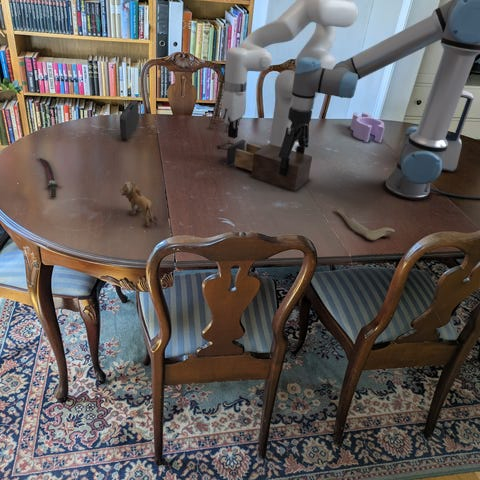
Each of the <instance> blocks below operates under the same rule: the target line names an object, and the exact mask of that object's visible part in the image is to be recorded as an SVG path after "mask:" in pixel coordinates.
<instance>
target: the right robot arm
mask: <svg viewBox="0 0 480 480" xmlns="http://www.w3.org/2000/svg"><path fill="white" fill-rule="evenodd" d="M439 41H440V43H439V44H440V45H441V47H442V49H443V51H442V54H441V58H440V60H439V63H438V65H437V70H436V72H435V74H434V78H433V81H432V84H431V87H430V90H429V93H428V96H427V99H426V102H425V105H424V108H423V111H422V114H421V117H420V120H419V123H418V125H414V126H413V125H412V126H409V127H408V128H407V130H406V132H405V134H404V139H403V142H402V146H401V149H400V152H399V156H398V159H397V163H396V166H395V168H394V169H393V171H392V172H391V173H390V172H388V174H387V175H388V177H387V179H386V181H385V184H384V185H385V186H384V187H385V189H386V190H387V191H388V193H390V194H391V195H394V196H396V197H398V198H401V199H405V200H409V201H424V200H427V198H428V197H429V195H430V193H431V192H435V193H437V194H440V195H444V196H448V197H454V198H459V199H469V200H480V196H472V195H464V194H463V195H462V194H457V193H450V192H445V191H442V190H440V189H436V188H434V187H431V183H432V182H434V181H436V180H437V179H438V178H439V176H440V175H441V173H442V171H443V170H442V160H443V157H444V155H445V152H446V149H447V147H448V142H447V140H446V138H445V137H446V134H447V135H448V132H449V129H450V126H451V123H452V121H453V119H454V115H455V113H456V110H457V108H458V105H459V102H460V100H461V98H462V97H461V94H462V91H464V89H465V86H466V83H467V81H468V78H469V75H470V72H471V69H472V68H473V65H474V62H475V59H476V57H477V56H478V55H480V0H449V1H448V2H446V3H445V4H443V5H441V6H438V7H437V8H435V9H434V10H433V11H432V13H431V15H430V16H427V17H426V18H424V19H422V20H419V21H418V22H416V23H414V24H412V25H410V26H409V27H407V28H404V29H403V30H401V31H399V32H396V33H395V34H393V35H391V36H389V37H387V38H386V39H383V40H381V41H379V42H378V43H376V44H374V45H372V46H370V47H368V48H365V50H362V51H361V52H358V53H356V54H355V55H353V56H350V57H349V58H347V59H346V60H341V61H339V62H336V65H335V66H334V67H333V69H326V68H322V67H321V61H320V60H318V59H314V58H310V57H302V58H300V59H299V60H298V61H297V65H296V66H295V70H294V71H295V73H294V82H293V89H292V95H291V96H290V98H291V102H290V106H291V107H290V108H289V114H288V119H289V120H290V121H291V122H292V124H291V126H290V128H288V127H287V128H286V133H285V137H284V140H283V143H282V146H281V150H280V153H279V157H280V158H281V164H280V170H279V175H282V176H285V177H286V176H287V172H288V166H289V160H290V158H289V156H290V153H291V151H292V148H293V146H294V143H295V141H296V142H298V144H299V145H300V146H297V147H296V152H299V153H302V154H305V150H306V149H307V148H308V147H309V143H310V142H309V140H310V122H311V121H312V117H313V116H312V115H313V109H314V105H315V99H316V98H315V93H316V92H317V93H319V94H321V95H322V94H323V95H327V96H333V97H338V98H341V99H342V98H343V99H352V98H354V96H355V93H356V90H357V86H358V81H359V80H361V79H363V78H365V77H367V76H369V75H371V74H373V73H375V72H377V71H379V70H381V69H383V68H386V67H387V66H390V65H392V64H393V63H396V62H398V61H400V60H401V59H404V58H406V57H408V56H410V55H412V54H414V53H416V52H419V51H420V50H422V49H425V48H427V47H428V46H431V45H433V44H435V43H436V42H439ZM389 174H390V175H389ZM477 197H478V198H477Z"/></svg>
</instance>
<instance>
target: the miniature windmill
mask: <svg viewBox="0 0 480 480" xmlns="http://www.w3.org/2000/svg"><path fill="white" fill-rule="evenodd" d="M213 67H214V68H213V69H214V70H221V69H223V73H222V77H220V78H219V79H218V80H217V82H218V83H219V82H220V85H219V86H218V88H219V89H218V91H217V96H216V98H215V102H214V107H213V110H212V112H211V118H210V119H209V121H210V123H209V126H208V129H211V127H212V123H213V124H215V123H216V122H217V123H218V122H219V123H224V122H225V120H218V119H217V117H221V114H217V113H218V110H221V108H220V107H219V106H222V103H220V99H222V98H223V94H221V93H222V90H223V89H224V90H225V68H226V65H222V64H221V63H220V64H219V63H217V62H214V66H213ZM223 84H224V85H223ZM225 132H228V125H225Z"/></svg>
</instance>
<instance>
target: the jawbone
mask: <svg viewBox="0 0 480 480" xmlns="http://www.w3.org/2000/svg"><path fill="white" fill-rule="evenodd" d="M334 210H335V212H336V213H337V214H338V215H339V216H341V217H342V219H343V220H344V222H345V223H346V225H347V226H348V227H349V229H351V230H352V231H354V233H356V234H358V235H360V236H363V237H364V238H366V239H367V240H369V241H377V240H378V239H380V238H381V237H384V238H388V237H389V236H390V232H391V233H392V232H393V233H395V232H396V229H395V228H392V227H381V228H379V229H368V228H367V227H365V226H363V225H362V224H360V223H359V222H357V221H356V219H355V218H353V217H352V218H350V217H348V216H347V215H346V213H345V212H344V211H343V210H342V209H341V208H340V207H338V208H334Z"/></svg>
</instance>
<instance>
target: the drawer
mask: <svg viewBox="0 0 480 480" xmlns="http://www.w3.org/2000/svg"><path fill="white" fill-rule="evenodd" d="M228 145H230V146H228ZM226 146H227V147H226ZM245 146H246V147H245ZM263 147H264V146H259V145H256V144H253V143H250V142H246V139H241V140H239V141H237V142H231V141H230V139H227V140H225V141H222V142H221V143H219V144H217V145H216V150H220V149H221V150H224V151H227V152H226V163H225V165H226V166H227V167H230V166H232V165H233V166H235V167H239V168H240V169H245V170H247V171H250V172H252V165H253V156H254V153H255V152H257V151H258V150H260V149H262V148H263Z"/></svg>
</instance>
